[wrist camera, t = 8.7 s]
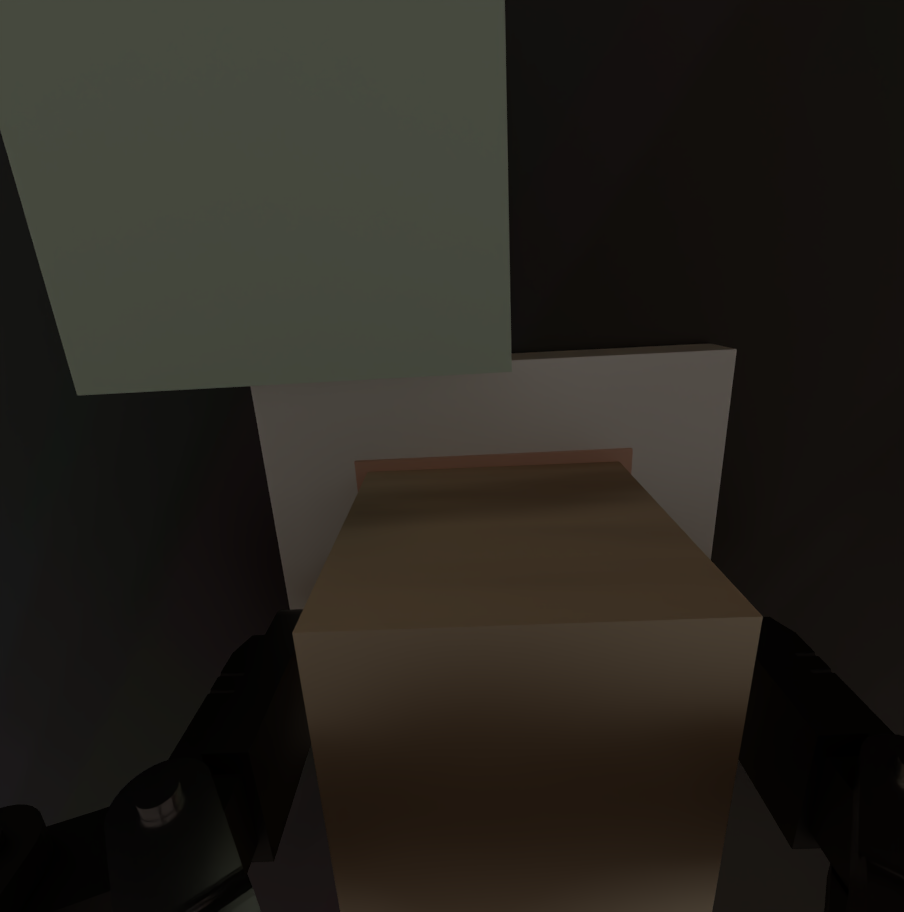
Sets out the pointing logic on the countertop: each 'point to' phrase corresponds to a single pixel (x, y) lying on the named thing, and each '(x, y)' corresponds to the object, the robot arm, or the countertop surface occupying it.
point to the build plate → (497, 434)
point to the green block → (263, 186)
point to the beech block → (523, 695)
